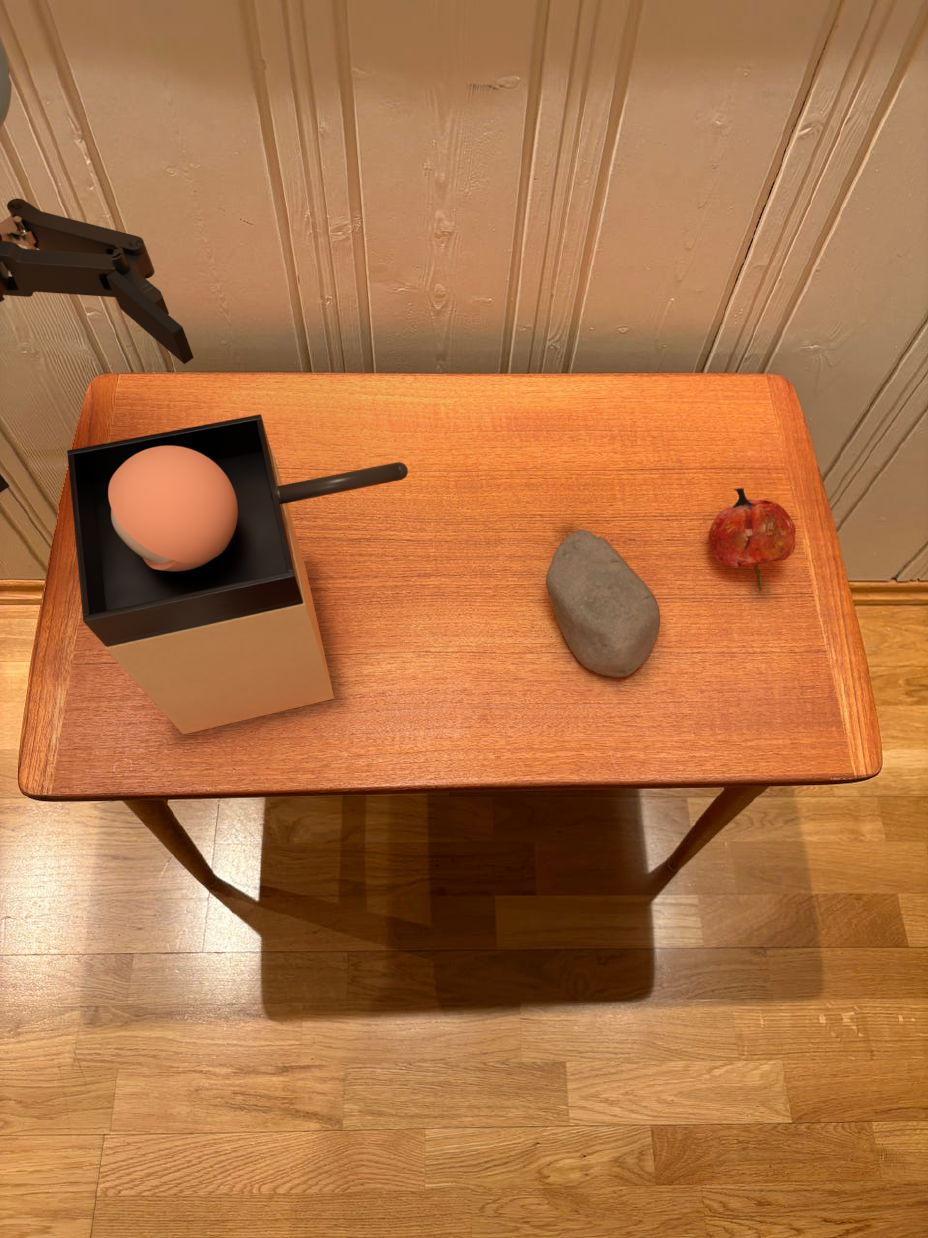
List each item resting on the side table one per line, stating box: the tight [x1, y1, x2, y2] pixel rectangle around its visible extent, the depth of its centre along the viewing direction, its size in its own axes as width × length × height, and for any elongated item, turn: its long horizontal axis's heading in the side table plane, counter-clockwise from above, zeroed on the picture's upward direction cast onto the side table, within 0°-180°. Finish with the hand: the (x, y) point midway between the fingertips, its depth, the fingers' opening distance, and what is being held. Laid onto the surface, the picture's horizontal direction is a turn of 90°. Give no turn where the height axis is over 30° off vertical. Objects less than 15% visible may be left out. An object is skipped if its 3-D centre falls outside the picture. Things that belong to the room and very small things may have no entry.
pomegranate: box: [708, 487, 797, 591], centre depth 78 cm, size 7×7×10 cm
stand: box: [104, 447, 335, 735], centre depth 66 cm, size 13×13×19 cm
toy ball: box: [108, 446, 238, 571], centre depth 53 cm, size 8×8×8 cm
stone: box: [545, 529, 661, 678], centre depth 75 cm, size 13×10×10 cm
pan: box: [66, 414, 409, 647], centre depth 56 cm, size 22×13×4 cm, turn 105°
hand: (93, 408), depth 50 cm, fingers open, 13 cm apart
